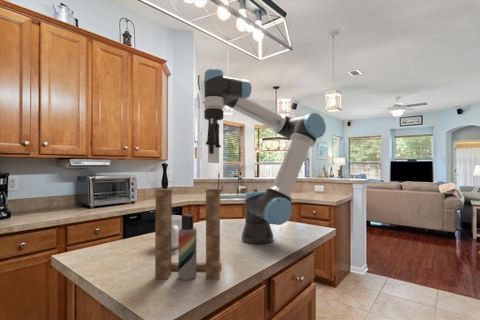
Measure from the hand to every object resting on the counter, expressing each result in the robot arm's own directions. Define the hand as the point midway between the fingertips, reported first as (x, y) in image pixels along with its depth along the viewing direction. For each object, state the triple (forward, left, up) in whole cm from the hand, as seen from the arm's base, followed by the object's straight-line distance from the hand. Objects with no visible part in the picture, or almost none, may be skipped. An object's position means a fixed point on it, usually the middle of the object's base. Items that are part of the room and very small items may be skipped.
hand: (213, 163), depth 105 cm
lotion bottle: (+6, +19, -37) cm, 42 cm away
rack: (+6, +17, -37) cm, 41 cm away
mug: (+20, -11, -37) cm, 43 cm away
